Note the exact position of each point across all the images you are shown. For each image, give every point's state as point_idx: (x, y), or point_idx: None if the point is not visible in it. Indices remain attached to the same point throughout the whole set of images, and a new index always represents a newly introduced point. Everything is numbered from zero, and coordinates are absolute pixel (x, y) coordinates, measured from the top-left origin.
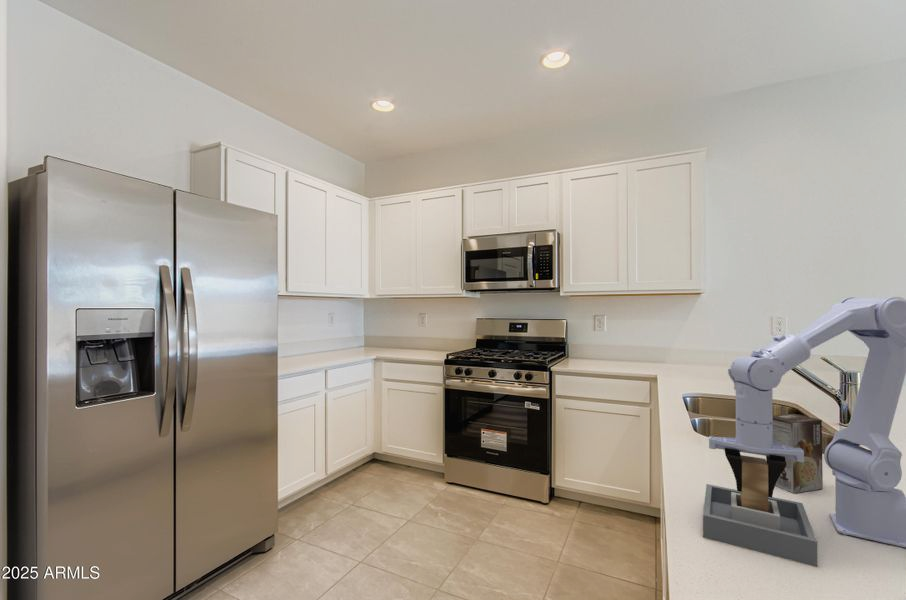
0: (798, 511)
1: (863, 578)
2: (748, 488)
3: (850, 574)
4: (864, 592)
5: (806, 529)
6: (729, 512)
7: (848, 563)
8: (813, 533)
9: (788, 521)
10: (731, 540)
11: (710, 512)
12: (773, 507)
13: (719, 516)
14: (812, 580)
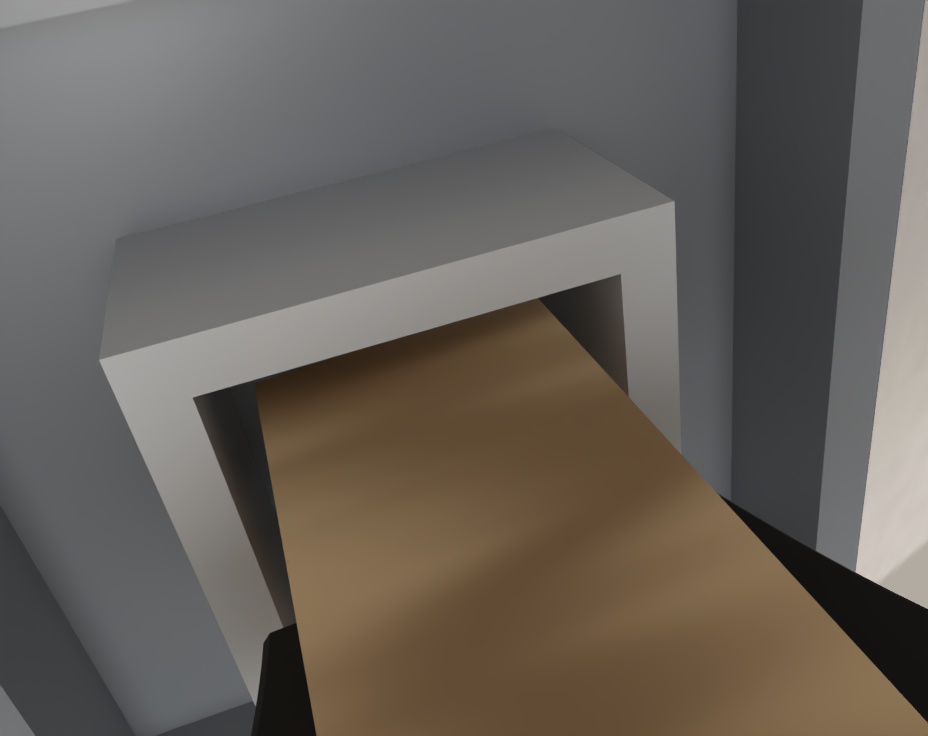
0: (839, 68)
1: (925, 454)
2: None
3: (879, 464)
4: (884, 576)
5: (825, 517)
6: (108, 274)
7: (909, 341)
8: (856, 537)
9: (659, 10)
10: None
11: (38, 645)
12: None
13: (75, 456)
14: None
